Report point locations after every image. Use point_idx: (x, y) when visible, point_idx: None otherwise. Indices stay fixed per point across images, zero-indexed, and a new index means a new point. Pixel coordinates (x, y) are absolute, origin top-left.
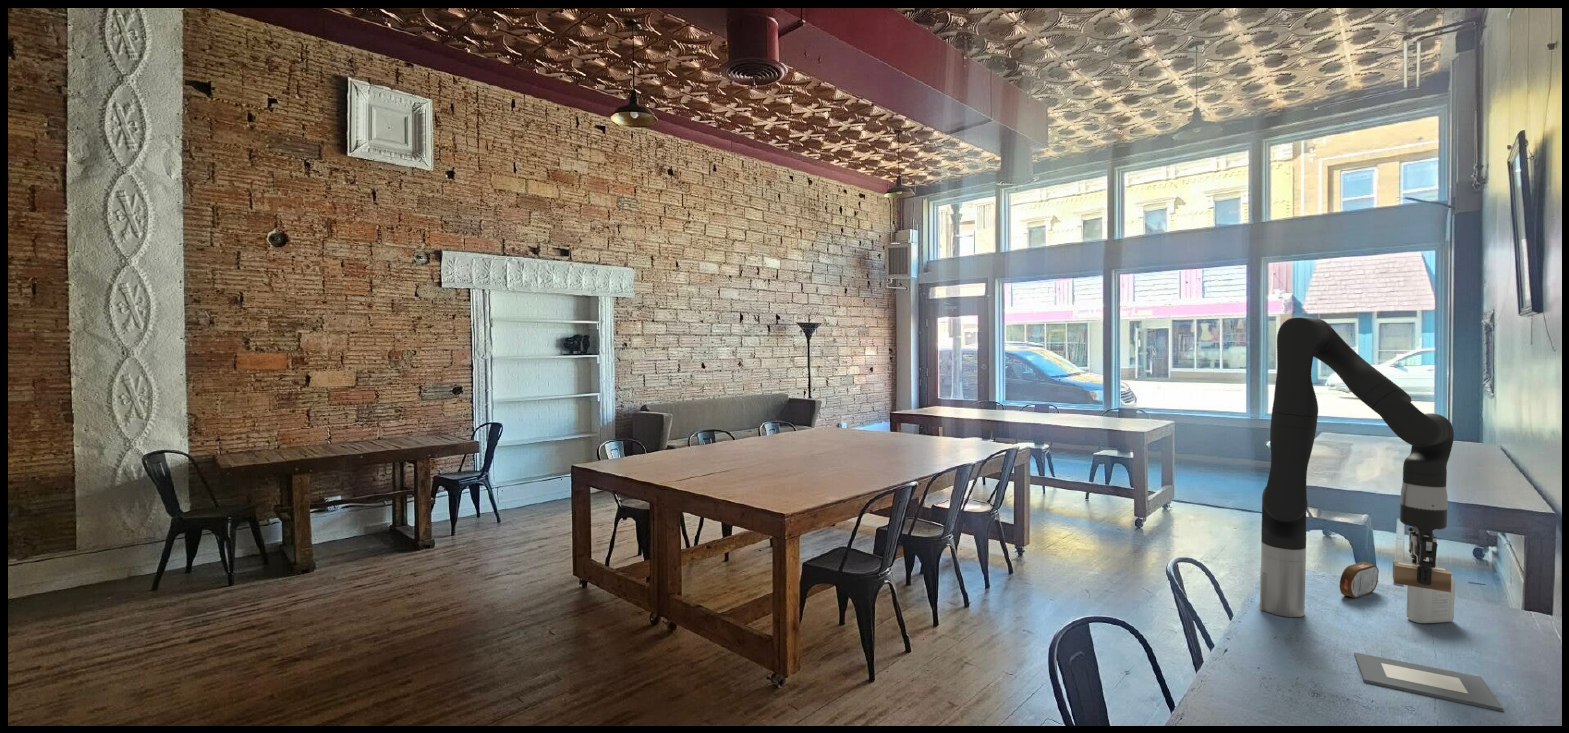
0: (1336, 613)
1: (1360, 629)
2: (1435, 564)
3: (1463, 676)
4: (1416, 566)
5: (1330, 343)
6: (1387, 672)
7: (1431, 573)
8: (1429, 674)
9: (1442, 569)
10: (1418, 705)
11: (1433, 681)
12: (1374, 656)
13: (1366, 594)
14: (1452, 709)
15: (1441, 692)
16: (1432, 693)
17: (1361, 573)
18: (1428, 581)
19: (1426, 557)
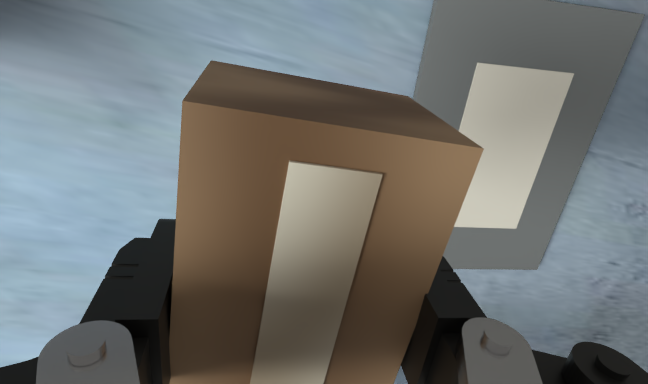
0: (10, 265)
1: (142, 223)
2: (629, 374)
3: (456, 42)
4: (325, 370)
5: None
6: (489, 223)
7: (448, 283)
8: (473, 133)
9: (336, 194)
10: (623, 191)
11: (517, 136)
12: None
13: None
14: (634, 131)
15: (575, 135)
16: (583, 157)
17: None
18: (441, 260)
19: (105, 348)
